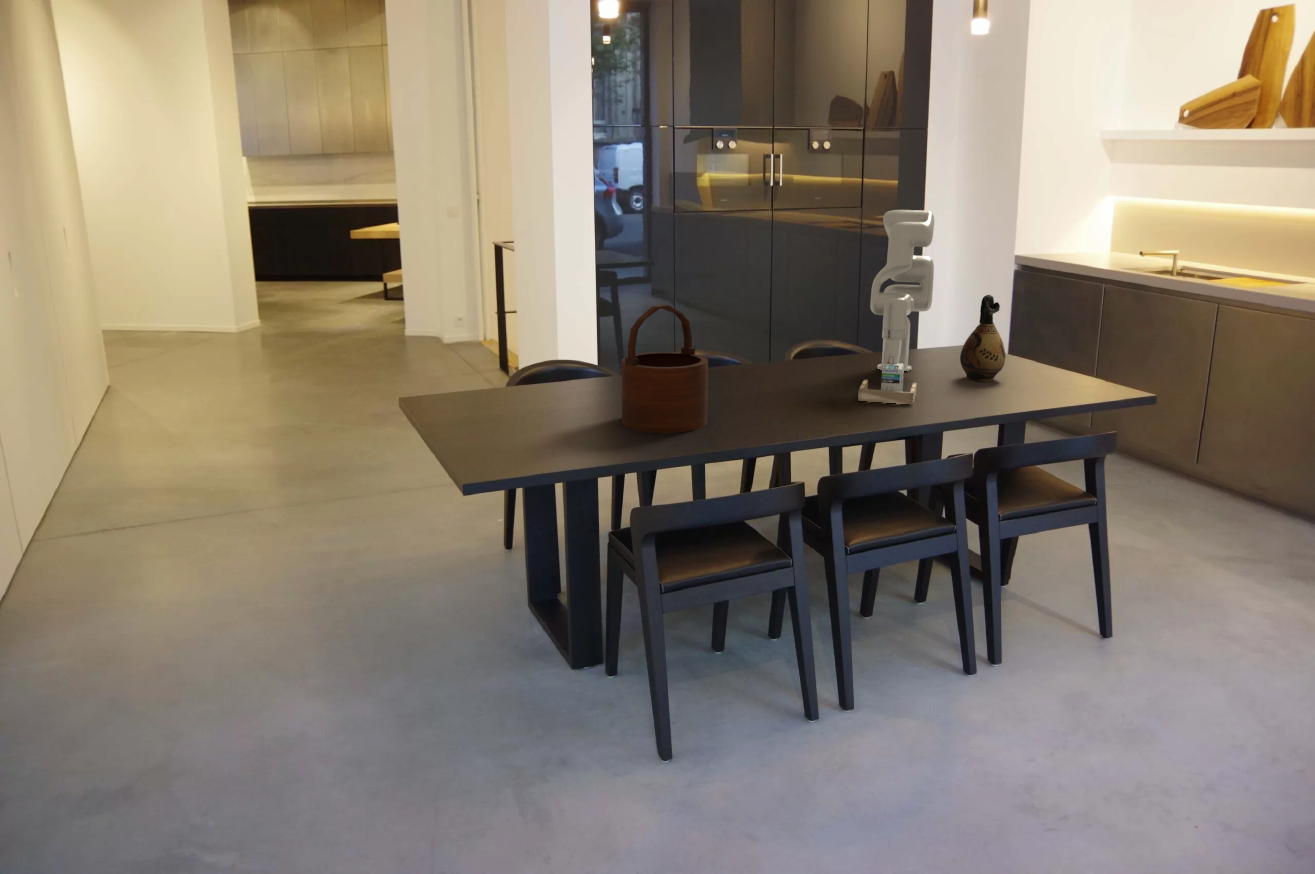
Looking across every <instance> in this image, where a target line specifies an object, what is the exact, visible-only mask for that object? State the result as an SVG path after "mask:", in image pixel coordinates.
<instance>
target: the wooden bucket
mask: <svg viewBox="0 0 1315 874" xmlns="http://www.w3.org/2000/svg"><path fill="white" fill-rule="evenodd" d="M660 310H665V311H667V312H669V313H672V314H674V315H675V316H676V318H678V320H679V321H680V322H681V327H682V334H683V346H682V347H680V352H678V351H677V352H676V351H655V352H654V351H652V352H641V353H636V345H637V339H638V335H639V333H638V332H639V329H640V328H641V326H642V325H643V324H644V322H645V321H646V319H648V318H649V317H651V316H653V314H655V313H657V312H658V311H660ZM692 337H693V336H692V331H691V324H690V321H689V320H688V319H687V317H686V316H685V315H684V314H683V313H682V312H681V311H679V310H678V309H675V308H674V307H672V306H671V305H668V304H659V305H653V306H650V308H649V309H647V310H646V311H645V312H644V313H643V314H642V315H641V316H639V317H638V318H637V320H636V321H635V322H634V324H633V325H632V327H631V328H630V333H629V337H628V344H627V355H626V356H624V357H623V358H622V359H621V424H622V425H623V427H625V428H626V429H630V430H632V431H635V430H637V431H636V432H640V431H642V433H647V432H651V433H650V434H675V433H674V432H683V433H687V432H686V431H689V432H692V431H691V430H695V431H697V430H696V429H698V430H700V429H699V428H701V429H703V428H705V427H706V426H707V425H708V408H709V406H708V403H709V402H708V399H709V397H708V396H709V395H708V394H709V393H708V392H709V384H708V383H709V379H708V378H709V358H707V357H705V356H703V355H699V354H696V347H693V344H692V343H693V342H692V341H693V340H692V339H693V338H692ZM706 424H707V425H706ZM705 425H706V426H705ZM704 426H705V427H704ZM702 427H703V428H702Z"/></svg>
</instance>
